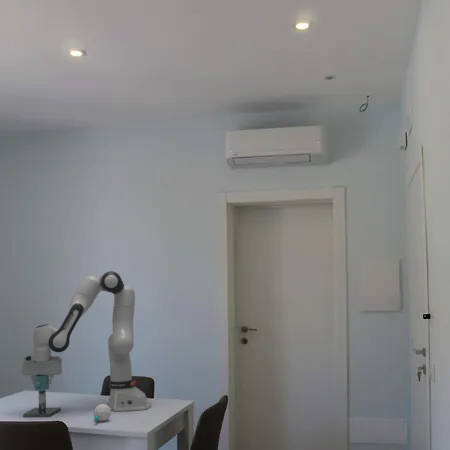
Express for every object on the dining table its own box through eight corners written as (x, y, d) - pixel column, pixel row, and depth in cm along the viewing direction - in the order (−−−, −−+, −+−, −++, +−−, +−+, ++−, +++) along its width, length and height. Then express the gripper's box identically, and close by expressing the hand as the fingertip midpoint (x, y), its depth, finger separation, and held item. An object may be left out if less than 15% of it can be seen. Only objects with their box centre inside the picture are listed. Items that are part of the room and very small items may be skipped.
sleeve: (38, 388, 305) (38, 374, 306) (50, 387, 305) (50, 374, 305) (30, 391, 296) (30, 377, 296) (43, 391, 295) (43, 377, 296)
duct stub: (60, 410, 307) (60, 387, 308) (50, 416, 293) (50, 393, 294) (34, 410, 308) (34, 388, 309) (23, 417, 294) (23, 393, 295)
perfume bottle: (116, 411, 285) (107, 420, 273) (104, 420, 286) (94, 430, 275) (107, 398, 286) (97, 407, 274) (94, 408, 287) (84, 417, 275)
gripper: (63, 355, 305) (63, 382, 304) (25, 355, 307) (25, 383, 306) (59, 357, 299) (59, 384, 298) (20, 357, 301) (20, 385, 300)
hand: (41, 384), depth 302 cm, fingers closed on sleeve, 6 cm apart
